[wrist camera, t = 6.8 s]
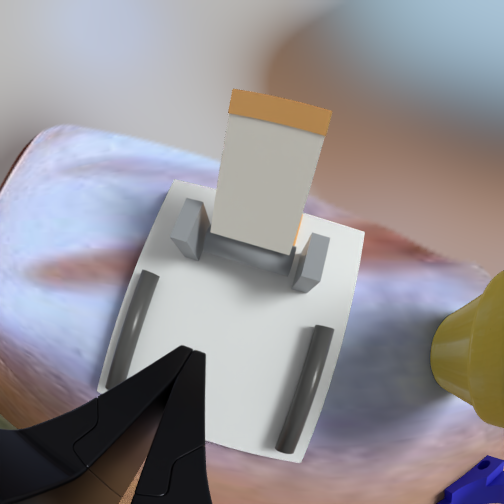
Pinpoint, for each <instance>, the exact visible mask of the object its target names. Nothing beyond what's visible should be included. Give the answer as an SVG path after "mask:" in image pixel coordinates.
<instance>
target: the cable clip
mask: <svg viewBox="0 0 504 504" xmlns="http://www.w3.org/2000/svg"><path fill="white" fill-rule="evenodd" d="M503 467H504V460H501V459H498V458H494V457H491V456H488V455H487V456H486V457H485V458H484V459H483V460H481V461H480V462H479V463H478V464H477V465H476V466H474V467H473V468H472V469H471V470H470V471H468V472H467V473H466V474H465V475H463V476H462V477H461V478H459V479H458V480H457V481H455V482H454V483H453V484H451V485H450V486H449V487H447V488H446V489H445V496H444V499H443V500H441V501H440V502H438V503H437V504H489V503H501V504H504V471H503Z"/></svg>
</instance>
